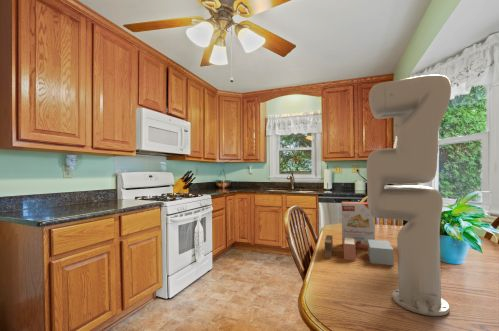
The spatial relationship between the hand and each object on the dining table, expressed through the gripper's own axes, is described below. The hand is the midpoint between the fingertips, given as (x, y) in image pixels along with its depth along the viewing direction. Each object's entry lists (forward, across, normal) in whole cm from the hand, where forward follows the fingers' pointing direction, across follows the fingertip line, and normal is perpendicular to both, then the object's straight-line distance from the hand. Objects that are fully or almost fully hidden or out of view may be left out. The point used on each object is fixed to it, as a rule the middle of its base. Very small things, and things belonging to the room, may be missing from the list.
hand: (407, 227), depth 97 cm
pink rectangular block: (+13, -22, -1) cm, 25 cm away
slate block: (+13, -10, -1) cm, 17 cm away
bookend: (+13, -30, -1) cm, 33 cm away
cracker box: (+14, -18, +14) cm, 26 cm away
